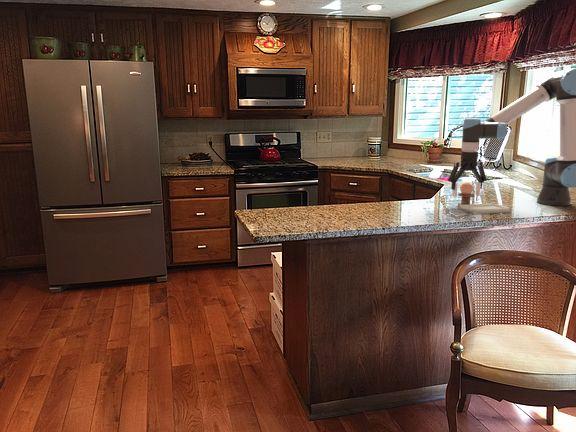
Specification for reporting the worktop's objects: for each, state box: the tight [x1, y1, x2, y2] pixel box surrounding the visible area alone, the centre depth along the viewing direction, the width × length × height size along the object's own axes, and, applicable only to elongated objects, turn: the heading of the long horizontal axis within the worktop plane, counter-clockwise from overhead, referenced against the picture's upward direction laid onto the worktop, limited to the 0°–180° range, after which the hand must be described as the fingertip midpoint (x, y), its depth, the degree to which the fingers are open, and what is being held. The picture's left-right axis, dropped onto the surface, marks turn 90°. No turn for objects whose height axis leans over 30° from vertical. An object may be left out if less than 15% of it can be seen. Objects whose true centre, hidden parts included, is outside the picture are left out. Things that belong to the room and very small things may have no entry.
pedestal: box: [457, 192, 475, 207], centre depth 239 cm, size 7×7×6 cm
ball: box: [459, 182, 474, 194], centre depth 238 cm, size 6×6×6 cm
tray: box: [458, 203, 512, 215], centre depth 229 cm, size 19×12×2 cm, turn 101°
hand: (466, 196), depth 239 cm, fingers open, 12 cm apart
